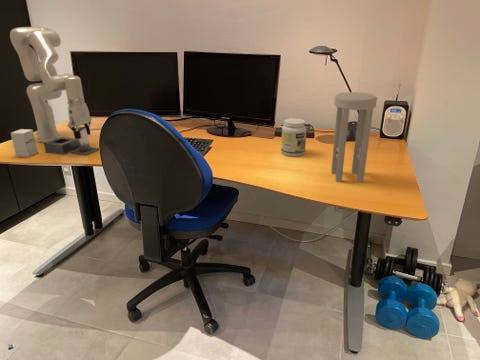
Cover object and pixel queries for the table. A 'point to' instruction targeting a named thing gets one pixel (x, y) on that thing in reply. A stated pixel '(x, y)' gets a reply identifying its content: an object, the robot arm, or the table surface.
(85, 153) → the mat
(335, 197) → the table surface
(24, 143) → the supplement box
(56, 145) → the housing
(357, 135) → the stool
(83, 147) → the cover plug
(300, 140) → the supplement tub
